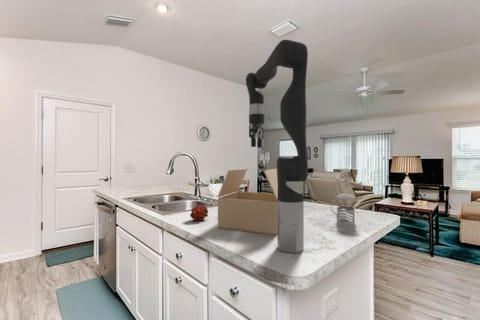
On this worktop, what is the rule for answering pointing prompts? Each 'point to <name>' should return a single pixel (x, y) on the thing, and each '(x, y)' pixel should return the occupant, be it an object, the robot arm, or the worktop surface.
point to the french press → (343, 221)
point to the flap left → (232, 181)
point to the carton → (249, 212)
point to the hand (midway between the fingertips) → (256, 147)
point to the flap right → (272, 180)
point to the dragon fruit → (199, 213)
